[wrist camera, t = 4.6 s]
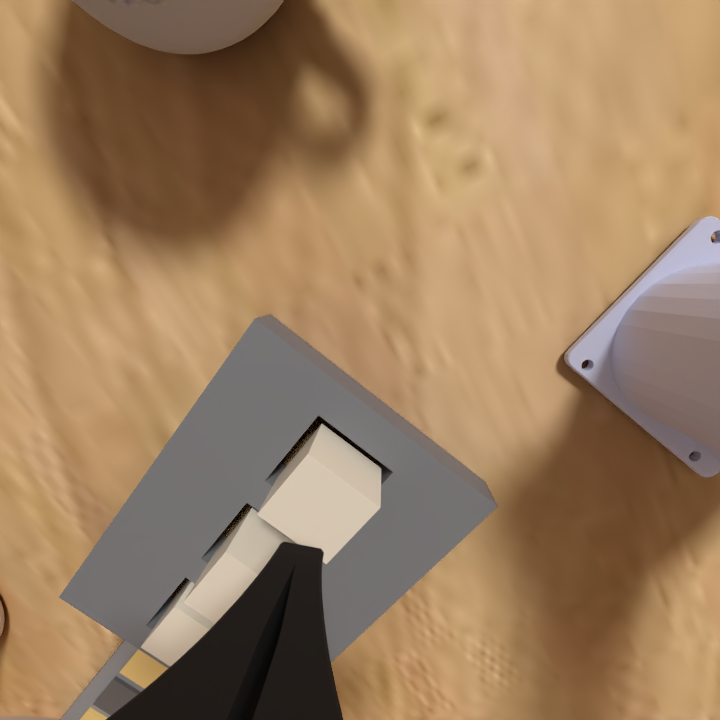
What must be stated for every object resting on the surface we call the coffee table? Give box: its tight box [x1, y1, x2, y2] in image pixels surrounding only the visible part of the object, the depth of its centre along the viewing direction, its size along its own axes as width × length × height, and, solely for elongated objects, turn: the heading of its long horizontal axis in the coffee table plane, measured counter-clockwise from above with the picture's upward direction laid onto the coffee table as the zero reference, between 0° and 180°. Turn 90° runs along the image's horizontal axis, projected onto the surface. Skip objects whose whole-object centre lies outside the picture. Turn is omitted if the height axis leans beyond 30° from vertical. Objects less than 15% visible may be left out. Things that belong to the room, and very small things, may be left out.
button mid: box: [183, 508, 297, 624], centre depth 16 cm, size 4×4×3 cm
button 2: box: [257, 424, 381, 564], centre depth 15 cm, size 4×4×3 cm
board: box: [59, 314, 498, 668], centre depth 18 cm, size 14×20×2 cm
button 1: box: [141, 580, 215, 666], centre depth 19 cm, size 4×4×3 cm
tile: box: [60, 640, 168, 720], centre depth 23 cm, size 5×12×1 cm, turn 142°
